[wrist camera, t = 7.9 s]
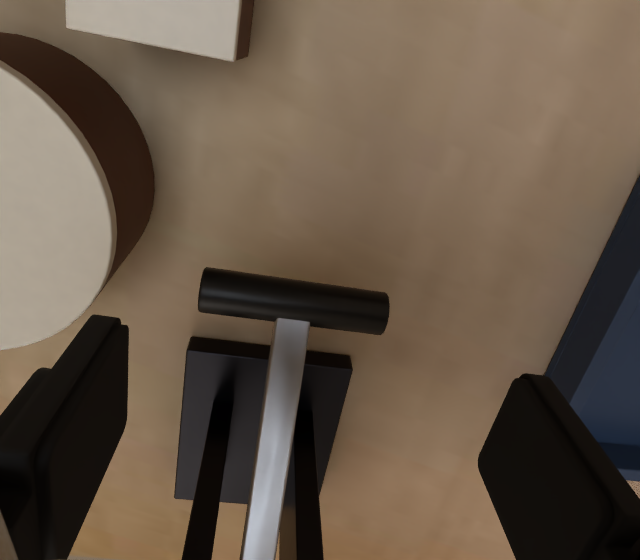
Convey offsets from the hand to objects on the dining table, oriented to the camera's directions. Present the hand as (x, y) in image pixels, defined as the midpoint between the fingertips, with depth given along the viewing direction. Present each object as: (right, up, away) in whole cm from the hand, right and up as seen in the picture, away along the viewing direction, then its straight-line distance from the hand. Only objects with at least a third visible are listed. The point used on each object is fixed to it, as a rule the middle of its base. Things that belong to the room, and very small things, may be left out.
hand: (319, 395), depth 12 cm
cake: (-12, +7, +8) cm, 16 cm away
